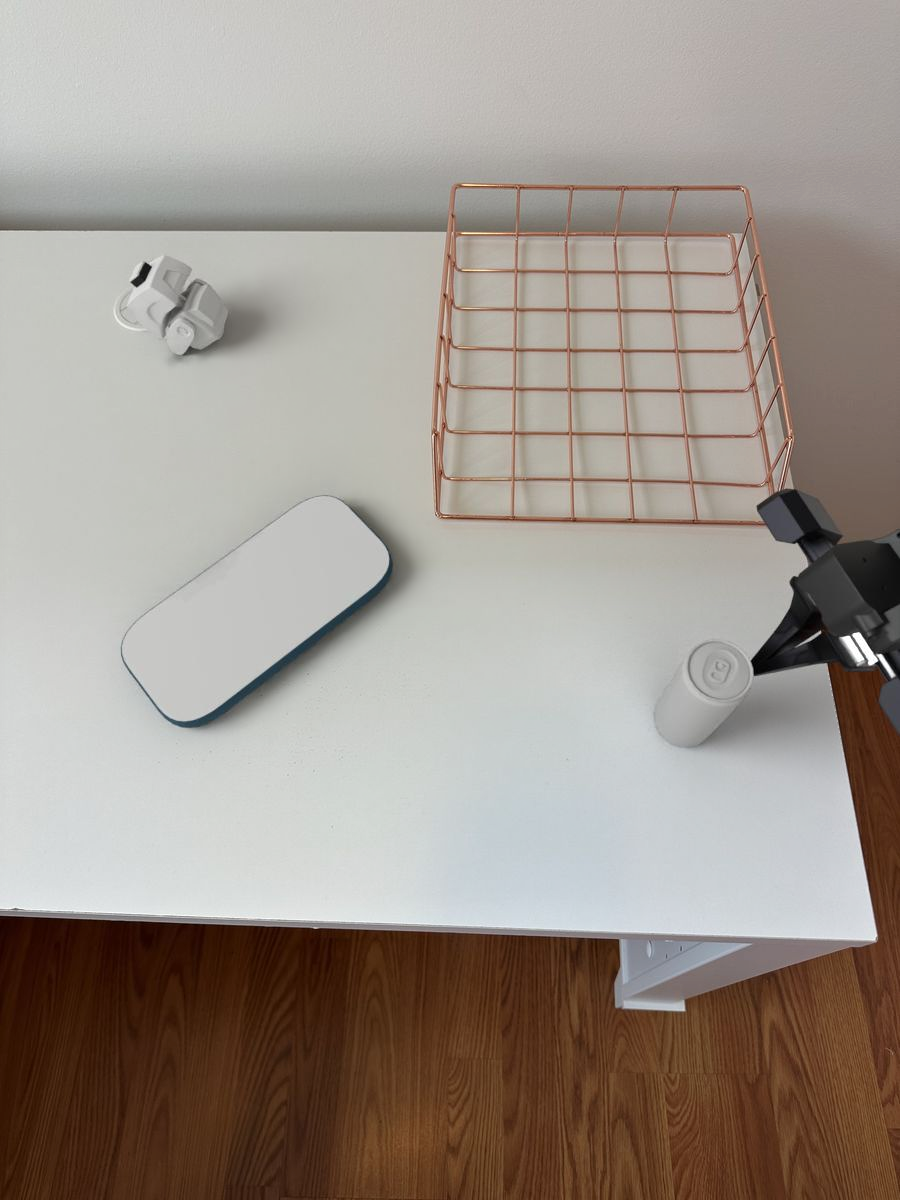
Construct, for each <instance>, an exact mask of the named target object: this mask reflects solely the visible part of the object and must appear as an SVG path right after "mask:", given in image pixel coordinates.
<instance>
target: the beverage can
mask: <svg viewBox="0 0 900 1200" xmlns="http://www.w3.org/2000/svg"><path fill="white" fill-rule="evenodd" d="M754 677H755V676H754V673H753V666H752V663H751V659H750V657H749V656H748V654H747V653H746V652H745V651H744V650H743V649H742V648H741V647H740V646H738V645H737V644H735V643H734V642H731V641H729V640H726V639H720V638H712V639H711V638H710V639H706V640H703V641H701V642H699V643H697V645H695V646H693V647H692V648H690V650H689V651H688V652H687V653H686V655H685V656H684V658H683V659H682V660H681V662H680V664H679V666H678V668H677V669H676V671H675V672H674V674H673V675H672V677H671V679H670V680H669V682H668V684H667V685H666V687H665V689H664V690H663V692H662V693H661V695H660V697H658V700H657V701H656V703H655V705H654V710H653V721H654V725H655V726H654V727H655V729H656V731H657V732H658V735H659V736H660V737H661V738H662V739H663V740H664V741H665V742H667V743H668V744H669V745H673V746H675V747H678V748H691V747H695V746H697V745H700V744H702V743H703V742H704V741H705V740H706V739H708V738H709V737H710V736H711V734H712V733H714V731H715V730H716V729H717V728H718V727H719V726H720V725H721V724H722V723H723V722H724V721H725V720H726V719H727V718H728V717H729V716H730V714H731V713H732V712H733V711H734V710H735V709H736V708H737V707H738V706H739V705H740V703H742V701H743V700H744V699H745V698H746V697H747V696H748V694H749V692H750V691H751V688H752V685H753V682H754Z"/></svg>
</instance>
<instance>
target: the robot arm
mask: <svg viewBox="0 0 900 1200" xmlns="http://www.w3.org/2000/svg"><path fill="white" fill-rule="evenodd" d="M755 506H756V512H757V513H758V516H760V518H761V519H762V521H763V523H764V524H765V526H766V527H767V529H768V531H769V532H770V534H771V536H772V537H773V538H774V540H775V541H776V542H779V543H780V542H781V543H784V544H785V543H786V544H791V545H796V544H797V545H798V547H799V549H800V551H802V553H803V554H804V556H805V558H806V559H807V561H808V562H809V565H808V566H807V567H805V568H804V569H803V570H802V571H800V572H799V573H798V576H796V575H793V576H792V577H791V578H790V579H789V581H788V582H789V586H790V587H791V589H792V593H793V594H792V598H791V601H790V605H789V608H788V609H787V612H786V613H785V615H784V617H783V618H782V619H781V621H780V622H779V624H778V625H777V627H776V628H775V630H774V631H773V633H771V635H770V636H769V637H768V638H767V639H766V641H765V642H764V643H763V644H762V646H761V647H760V648H759V649H758V651H757V652H756V653H755V654H754V655H753V656H752V658H751V659H750V660H751V663H752V666H753V673H754V677H760V676H765V675H770V674H776V673H779V672H785V671H790V670H795V669H799V668H800V669H801V668H805V667H811V666H815V665H824V664H834V663H835V664H836V663H838V665H839V666H840V667H841V668H842V669H843V671H845V672H847V673H870V672H873V671H874V670H876V669H877V670H878V671H879V673H880V674H881V676H882V677H883V679H884V680H885V683H883V684H881V687H880V692H879V695H878V699H877V703H878V705H879V706H880V708H881V709H882V711H883V713H884V714H885V716H886V717H887V719H888V721H889V722H890V724H891V725H892V727H893V729H894V730H895V731H896V733H897V735H898V736H899V737H900V528H897V529H895V530H894V531H893V532H891V533H889V534H888V535H884V536H881V537H876V538H874V539H862V540H856V541H849V542H842V543H839V542H840V541H841V540H842V538H843V537H844V534H842V532H841V530H840V529H839V527H838V526H837V524H836V523H835V522H834V520H833V519H832V517H831V515H830V514H829V512H828V511H827V509H826V508H825V506H824V505H823V503H822V501H821V500H820V499H819V498H818V497H815V496H812V495H811V494H808V493H805V492H803V491H801V490H799V489H795V488H783V489H780V490H777V491H775V492H773V493H772V494H771V495H770V496H768V497H767V498H765V499H764V500H763V501H761V502H760V503H758V504H757V505H755ZM824 629H826V630H824ZM822 630H824V631H822ZM821 631H822V632H821ZM819 632H820V634H818V633H819ZM816 634H818V635H817V636H815V635H816ZM814 636H815V637H814ZM812 637H814V638H812ZM811 638H812V639H811ZM809 639H811V640H809ZM807 640H809V641H807ZM806 641H807V642H806ZM804 642H805V643H804Z"/></svg>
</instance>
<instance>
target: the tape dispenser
mask: <svg viewBox="0 0 900 1200" xmlns="http://www.w3.org/2000/svg"><path fill="white" fill-rule="evenodd" d="M192 271H193V269H192V267H191V266H189V265H188V264H187V263H184V262H183V261H181V260H178V259H176V258H174V257H171V256H169V255H167V254H166V255H165V254H164V255H161V256H158V257H156V258H154V259H152V261H150V262H149V263H148V262H146V261H145V260H142V261H141V262H140V263H138V264H136V265H135V267H134V269H133V271H132V273H131V275H130V278H129V280H128V282H129V283H130V284H132V285H133V286H134V287H133V289H132V291H131V294H130V296H129V299H128V301H127V304H126V308H127V310H129V312H130V313H131V314H132V316H133V317H134V318H135V320H136V321H138V323H139V324H140V325H141V326H142V327H143V328H144V329H145V330H146V331H148V332H149V333H150V334H151V335H152V336H154V337H155V338H156V339H158V340H161V341H163V340H164V338H165V336H166V344H167V346H168V348H169V350H170V352H171V353H173V354H176V355H178V356H183V355H184V354H185V353H186V351H188V349H189V348H190V347H191V348H193V349H196V350H204V349H205V348H207V347H208V346H210V345H211V344H213V343H214V342H215V341H218V340H220V339H221V338H222V337H223V335H224V333H225V325H226V324H225V323H226V320H227V318H228V316H229V313H230V312H229V309H228V307H227V305H226V304H225V303H224V302H223V300H222V298H221V296H220V295H219V294H218V293H217V292H216V290H215V289H214V288H213V287H212V285H210V284H209V283H208V282H206V281H205V280H203V279H200V278H195V279H193V280H192V281H191V282H190V283H189V284H188V286H187V287H186V289H185V290H184V291H183V289H184V287H185V284H186V282H187V280H188V277H190V275H191V273H192ZM182 291H183V292H182ZM167 328H168V330H167V332H166V329H167Z"/></svg>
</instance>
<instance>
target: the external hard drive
mask: <svg viewBox="0 0 900 1200" xmlns="http://www.w3.org/2000/svg"><path fill="white" fill-rule="evenodd" d="M393 566H394V562H393V557H392V554H391V551H390V550H389V548H388V546H387V545H386V544H385V543H384V541H383V540H382V539H381V537H379V535H377V533H375V531H374V530H372V528H371V527H370V526H369V525H368V524H367V523H366V522H365V521H364V520H363V518H361V517H360V516H359V514H358V513H356V512H355V511H354V510H353V509H352V508H351V507H350V506H349V505H348V504H347V503H346V502H345V501H344V500H342V499H340V498H338V497H336V496H333V495H324V494H323V495H322V494H321V495H316V496H312V497H309V498H307V499H304V500H303V501H301V502H299V503H297V504H296V505H294V506H293V507H291V508H289V509H288V510H287V511H286V512H284V513H283V514H281V515H280V516H279V517H276V519H275V520H273V521H271V522H270V523H269V524H267V525H266V526H265V527H263V528H262V529H261V530H259V531H258V532H256V533H255V534H253V535H252V536H251V537H249V538H248V539H246V540H245V541H244V542H242V543H241V544H239V545H238V546H236V547H235V548H234V549H233V550H231V551H230V552H228V553H227V554H226V555H224V556H223V557H222V558H220V559H219V560H217V561H216V562H214V563H213V564H211V565H210V566H209V567H208V568H205V570H203V571H202V572H201V573H199V574H198V575H196V576H195V577H194V578H192V579H191V580H189V581H188V582H186V583H185V584H184V585H183V586H181V587H180V588H178V589H177V590H176V591H174V592H172V593H171V594H170V595H168V596H167V597H166V598H164V599H162V601H160V602H159V603H157V604H156V605H155V606H153V607H152V608H150V609H149V610H147V612H145V613H143V615H141V616H140V617H139V618H138V619H137V620H135V622H134V623H132V624H131V626H130V627H128V629H127V631H126V632H125V634H124V636H123V638H122V640H121V644H120V656H121V660H122V662H123V665H124V666H125V668H126V669H127V671H128V672H129V674H130V676H132V678H133V679H134V681H135V682H136V683H137V684H138V686H139V688H140V689H141V690H142V691H143V693H144V694H145V695H146V697H147V698H148V699H149V701H150V702H151V703H152V705H153V706H154V707H155V709H156V710H157V711H158V713H159V714H161V716H162V717H163V718H164V719H165V720H166V721H167V722H169V723H171V724H172V725H173V726H177V727H179V728H182V729H183V728H184V729H193V728H200V727H202V726H205V725H208V724H210V723H212V722H214V721H215V720H217V719H218V718H220V717H222V716H223V715H224V714H225V713H228V712H229V710H231V709H233V707H235V706H236V705H238V704H239V703H240V702H241V701H242V700H244V699H245V698H246V697H248V696H249V695H250V694H252V693H253V692H254V691H255V690H257V689H258V688H260V687H261V686H262V685H263V684H265V683H266V682H267V681H269V680H270V679H271V678H272V677H273V676H275V675H276V674H278V673H279V672H280V671H281V670H282V669H284V668H285V667H286V666H288V665H289V664H290V663H292V662H293V661H294V660H296V659H297V658H298V657H299V656H300V655H302V654H303V653H304V652H306V651H307V650H308V649H310V648H311V647H312V646H313V645H315V644H316V643H317V642H318V641H320V640H322V639H323V638H324V637H325V636H327V635H328V634H329V633H330V632H332V631H333V630H335V628H337V627H338V626H340V624H342V623H343V622H344V621H346V620H347V619H348V618H350V617H351V616H352V615H353V614H355V613H356V612H358V611H359V610H360V609H361V608H362V607H364V606H365V605H367V604H368V603H369V602H370V601H371V600H372V599H373V598H375V597H376V596H378V595H379V594H380V592H381V591H382V590H384V588H385V587H386V586H387V584H388V582H389V581H390V580H391V576H392V573H393V569H394V568H393Z"/></svg>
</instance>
